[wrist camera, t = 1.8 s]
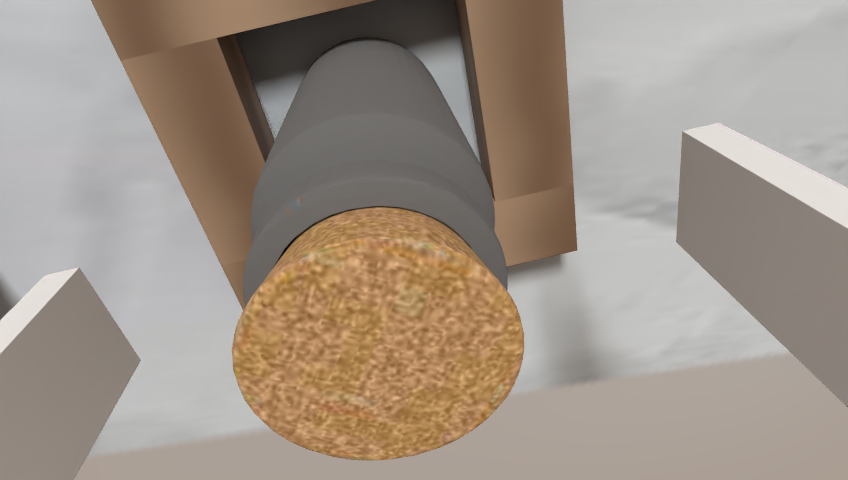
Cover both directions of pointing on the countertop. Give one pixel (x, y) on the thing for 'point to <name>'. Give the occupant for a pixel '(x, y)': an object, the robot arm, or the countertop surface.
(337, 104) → the bottle
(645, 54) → the countertop surface
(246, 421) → the countertop surface
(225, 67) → the brown wooden square frame
